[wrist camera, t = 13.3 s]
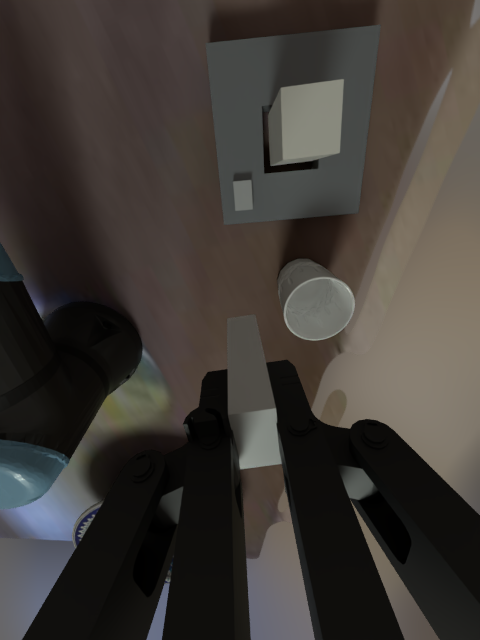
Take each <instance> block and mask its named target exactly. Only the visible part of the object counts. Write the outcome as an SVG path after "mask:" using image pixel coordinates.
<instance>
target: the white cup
mask: <svg viewBox="0 0 480 640" xmlns="http://www.w3.org/2000/svg"><path fill="white" fill-rule="evenodd" d="M277 284H278V290H279V291H278V293H279V298H280V303H281V307H282V311H283V315H284V319H285V322H286V325H287V327H288V328H289V329H290V331H291V332H292V333H294V334H295V335H296V336H298V337H300V338H303V339H307V340H322V339H326V338H329V337H332V336H334V335H335V334H337V333H339V332H340V331H341V330H342V329H343V328H344V327H345V326H346V325H347V324H348V323H349V321H350V319H351V317H352V315H353V312H354V308H355V300H354V296H353V293H352V291H351V289H350V288H349V287H348V286H347V285H346V284H345V283H344V282H343V281H341V280H340V279H339V278H337V277H336V276H335V275H334V274H332V273H331V272H330V271H329V270H327V269H326V268H324V267H323V266H321V265H319V264H318V263H316V262H314V261H312V260H310V259H296V260H294V261H291V262H289V263H287V264H286V266H285V267H284V268H283V269H282V270H281V271H280V274H279V277H278V280H277Z"/></svg>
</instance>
